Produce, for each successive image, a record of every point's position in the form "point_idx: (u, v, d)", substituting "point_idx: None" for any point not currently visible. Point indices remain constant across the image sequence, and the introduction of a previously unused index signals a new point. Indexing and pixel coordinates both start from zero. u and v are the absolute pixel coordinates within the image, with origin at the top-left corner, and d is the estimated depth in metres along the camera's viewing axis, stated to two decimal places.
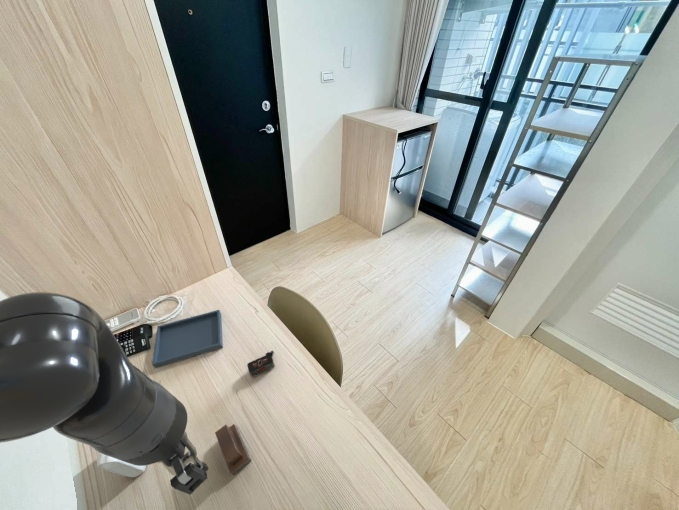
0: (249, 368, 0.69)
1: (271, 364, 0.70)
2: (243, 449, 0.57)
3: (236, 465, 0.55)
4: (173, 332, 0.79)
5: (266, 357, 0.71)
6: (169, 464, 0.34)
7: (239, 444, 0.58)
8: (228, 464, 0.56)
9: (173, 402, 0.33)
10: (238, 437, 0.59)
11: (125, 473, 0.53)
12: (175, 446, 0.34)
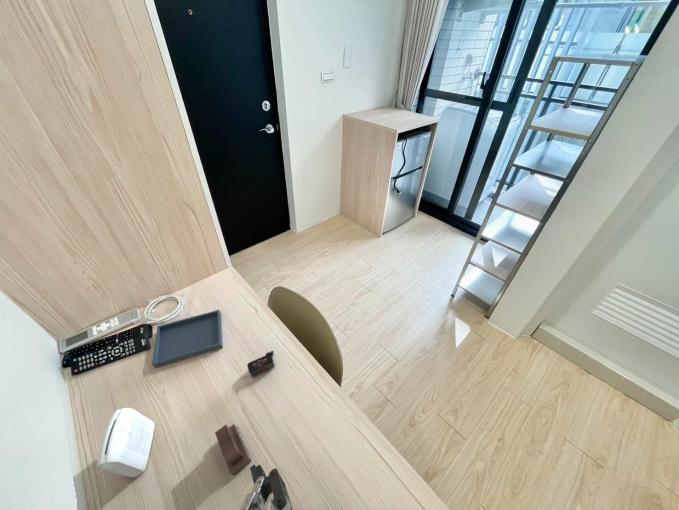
0: (249, 368, 0.69)
1: (271, 364, 0.70)
2: (243, 449, 0.57)
3: (236, 465, 0.55)
4: (173, 332, 0.79)
5: (266, 357, 0.71)
6: None
7: (239, 444, 0.58)
8: (228, 464, 0.56)
9: None
10: (238, 437, 0.59)
11: (125, 473, 0.53)
12: None
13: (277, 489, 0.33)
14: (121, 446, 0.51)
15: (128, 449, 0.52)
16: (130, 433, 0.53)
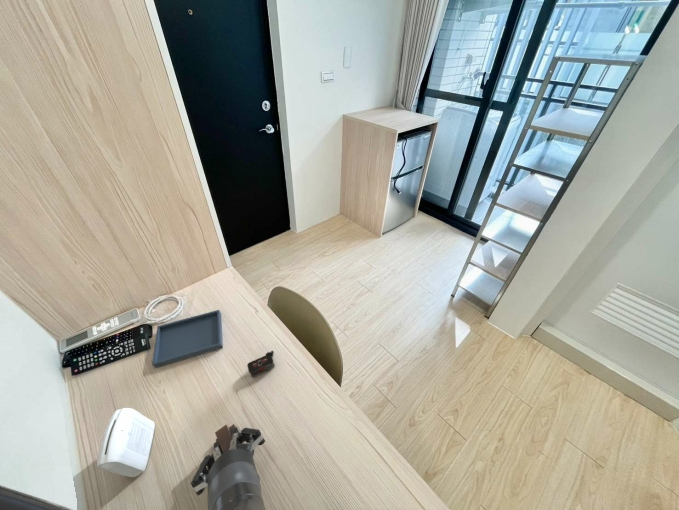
0: (249, 368, 0.69)
1: (271, 364, 0.70)
2: None
3: None
4: (173, 332, 0.79)
5: (266, 357, 0.71)
6: (206, 481, 0.46)
7: None
8: None
9: None
10: None
11: (125, 473, 0.53)
12: None
13: (252, 431, 0.53)
14: (121, 446, 0.51)
15: (128, 449, 0.52)
16: (130, 433, 0.53)
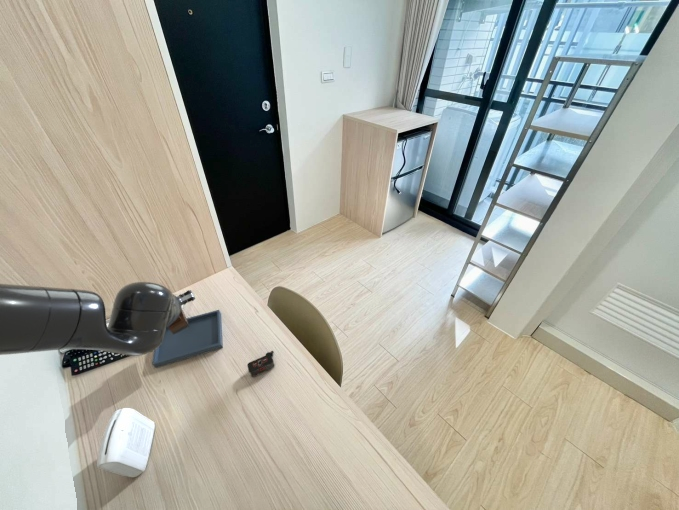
0: (249, 368, 0.69)
1: (271, 364, 0.70)
2: (182, 315, 0.69)
3: (175, 325, 0.68)
4: None
5: (266, 357, 0.71)
6: None
7: None
8: None
9: None
10: None
11: (125, 473, 0.53)
12: None
13: None
14: (121, 446, 0.51)
15: (128, 449, 0.52)
16: (130, 433, 0.53)
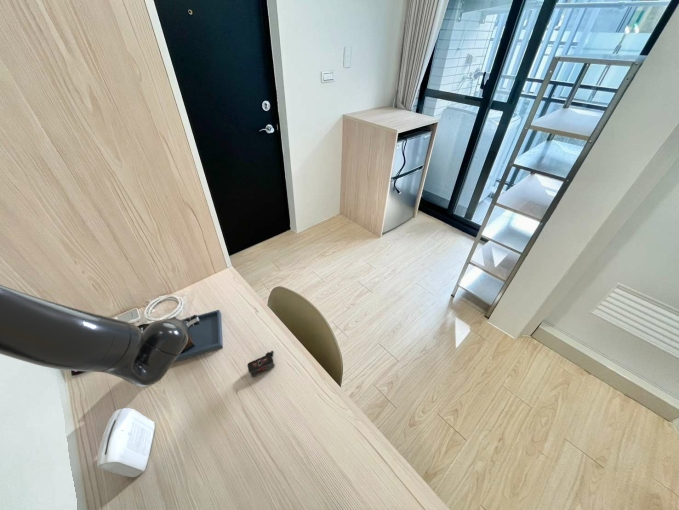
0: (249, 368, 0.69)
1: (271, 364, 0.70)
2: (188, 336, 0.75)
3: None
4: None
5: (266, 357, 0.71)
6: None
7: None
8: None
9: None
10: None
11: (125, 473, 0.53)
12: None
13: (191, 316, 0.71)
14: (121, 446, 0.51)
15: (128, 449, 0.52)
16: (130, 433, 0.53)
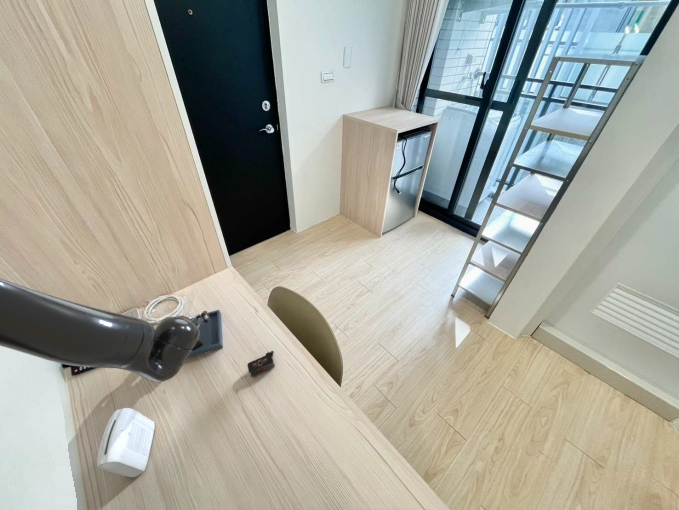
0: (249, 368, 0.69)
1: (271, 364, 0.70)
2: None
3: None
4: None
5: (266, 357, 0.71)
6: None
7: None
8: None
9: None
10: None
11: (125, 473, 0.53)
12: None
13: (203, 312, 0.71)
14: (121, 446, 0.51)
15: (128, 449, 0.52)
16: (130, 433, 0.53)
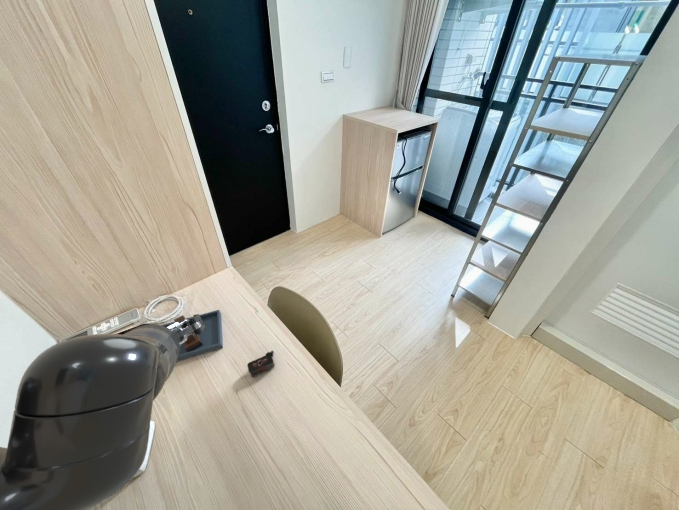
0: (249, 368, 0.69)
1: (271, 364, 0.70)
2: (196, 335, 0.76)
3: (190, 344, 0.74)
4: None
5: (266, 357, 0.71)
6: None
7: None
8: (184, 343, 0.74)
9: None
10: None
11: None
12: None
13: (193, 317, 0.43)
14: None
15: None
16: None
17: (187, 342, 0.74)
